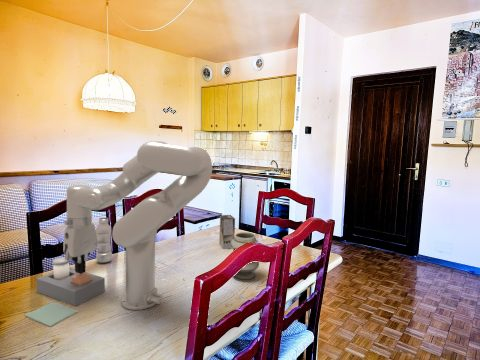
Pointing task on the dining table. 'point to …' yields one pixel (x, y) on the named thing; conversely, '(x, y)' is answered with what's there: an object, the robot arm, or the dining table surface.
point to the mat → (51, 314)
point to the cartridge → (60, 268)
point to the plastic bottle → (103, 241)
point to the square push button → (81, 279)
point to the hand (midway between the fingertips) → (80, 272)
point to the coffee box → (226, 231)
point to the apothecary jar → (246, 272)
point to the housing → (70, 288)
